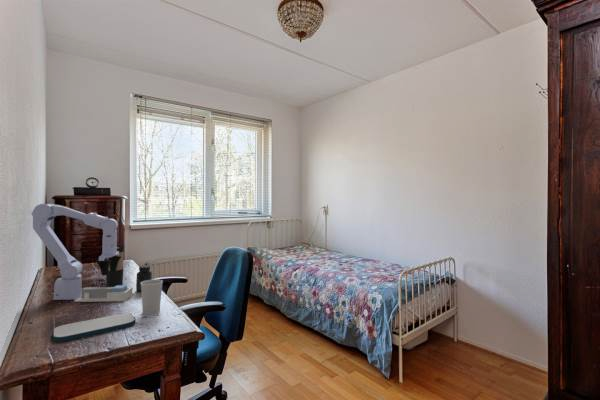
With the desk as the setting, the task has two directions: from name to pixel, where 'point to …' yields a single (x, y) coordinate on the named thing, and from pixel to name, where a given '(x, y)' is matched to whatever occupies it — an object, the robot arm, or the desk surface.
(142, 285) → the cup
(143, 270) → the supplement bottle
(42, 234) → the robot arm
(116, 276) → the travel mug
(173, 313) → the desk surface
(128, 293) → the slider rail
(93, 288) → the blue-capped grey bar
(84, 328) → the white teal rounded slab
